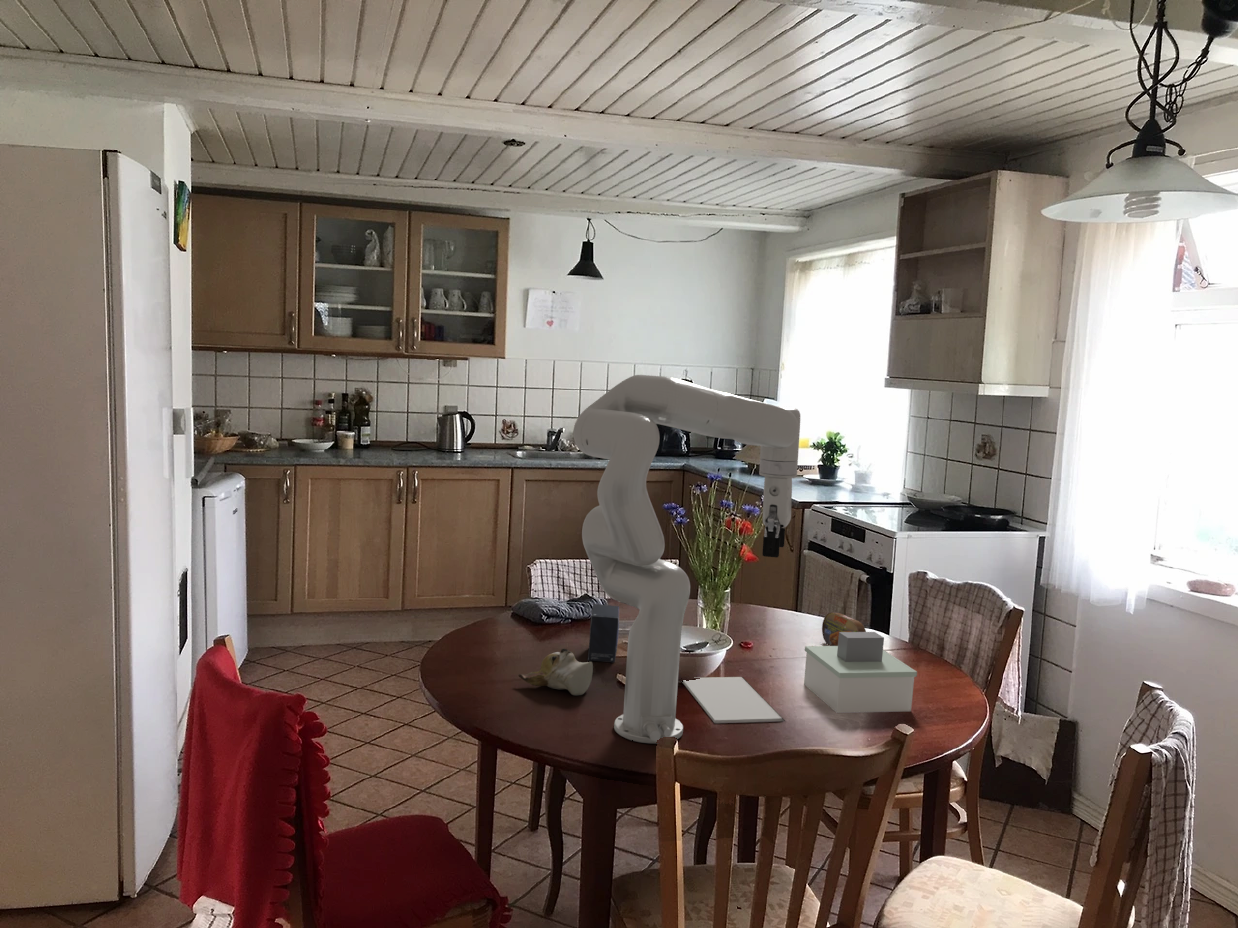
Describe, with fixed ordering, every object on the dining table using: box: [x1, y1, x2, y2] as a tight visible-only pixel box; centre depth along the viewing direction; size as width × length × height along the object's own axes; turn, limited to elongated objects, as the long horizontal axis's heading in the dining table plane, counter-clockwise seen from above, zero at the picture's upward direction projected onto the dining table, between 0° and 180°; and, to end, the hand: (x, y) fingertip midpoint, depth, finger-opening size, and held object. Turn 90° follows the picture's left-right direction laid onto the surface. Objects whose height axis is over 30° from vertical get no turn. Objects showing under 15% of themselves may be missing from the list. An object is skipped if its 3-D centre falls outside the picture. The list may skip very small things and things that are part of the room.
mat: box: [682, 676, 786, 724], centre depth 189 cm, size 23×23×1 cm
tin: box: [821, 611, 867, 646], centre depth 227 cm, size 15×3×8 cm, turn 22°
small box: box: [587, 603, 620, 663], centre depth 212 cm, size 11×6×10 cm, turn 179°
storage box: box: [803, 652, 915, 714], centre depth 192 cm, size 16×16×8 cm
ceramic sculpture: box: [517, 648, 594, 696], centre depth 189 cm, size 11×9×15 cm
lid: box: [804, 631, 918, 678], centre depth 191 cm, size 17×17×7 cm
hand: (773, 551), depth 190 cm, fingers open, 9 cm apart
